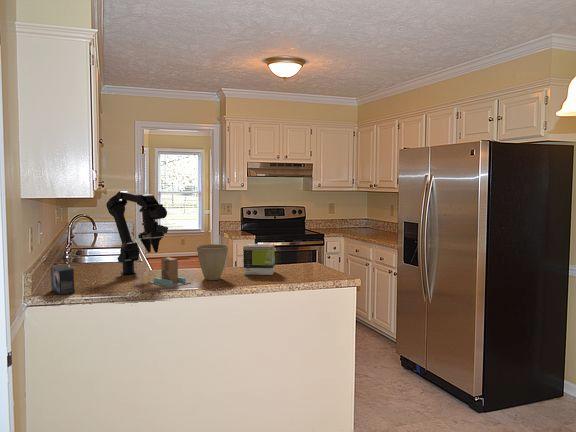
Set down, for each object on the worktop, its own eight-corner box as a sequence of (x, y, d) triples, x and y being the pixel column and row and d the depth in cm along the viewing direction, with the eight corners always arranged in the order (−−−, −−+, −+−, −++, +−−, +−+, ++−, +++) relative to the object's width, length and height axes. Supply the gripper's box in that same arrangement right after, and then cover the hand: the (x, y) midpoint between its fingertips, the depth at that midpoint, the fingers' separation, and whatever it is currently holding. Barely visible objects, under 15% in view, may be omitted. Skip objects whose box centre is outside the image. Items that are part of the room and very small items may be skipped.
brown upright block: (161, 281, 227) (161, 258, 226) (168, 280, 230) (168, 257, 229) (170, 284, 223) (170, 260, 222) (177, 282, 226) (177, 259, 225)
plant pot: (233, 279, 236) (233, 246, 234) (207, 283, 226) (207, 249, 224) (217, 274, 247) (217, 243, 245) (191, 278, 237) (190, 245, 236)
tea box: (274, 271, 255) (275, 243, 253) (272, 275, 245) (272, 246, 243) (246, 270, 256) (246, 243, 255) (243, 274, 246) (243, 245, 245)
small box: (50, 290, 210) (49, 266, 209) (65, 288, 215) (65, 264, 214) (59, 295, 202) (58, 270, 202) (75, 292, 207) (74, 268, 206)
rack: (148, 282, 227) (148, 277, 226) (169, 278, 236) (169, 273, 236) (170, 287, 217) (170, 282, 217) (190, 283, 226) (190, 278, 226)
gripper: (172, 217, 231) (176, 250, 231) (158, 219, 246) (161, 250, 246) (149, 219, 225) (153, 253, 225) (136, 222, 240) (139, 253, 240)
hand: (152, 252), depth 234 cm, fingers open, 9 cm apart
